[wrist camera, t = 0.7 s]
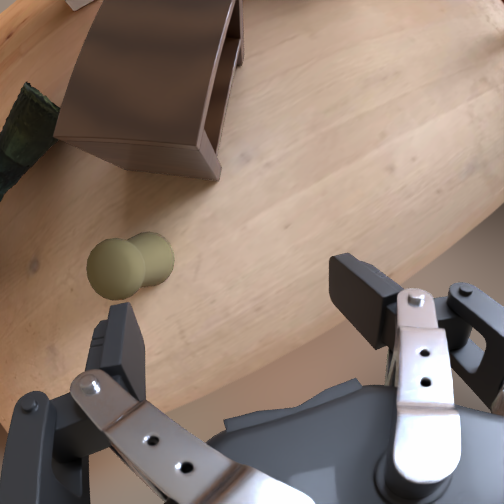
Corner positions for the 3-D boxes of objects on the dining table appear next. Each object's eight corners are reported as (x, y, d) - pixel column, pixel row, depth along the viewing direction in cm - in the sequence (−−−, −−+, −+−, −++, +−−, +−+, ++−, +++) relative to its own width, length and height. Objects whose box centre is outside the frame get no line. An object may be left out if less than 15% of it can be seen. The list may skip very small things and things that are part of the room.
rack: (157, 49, 32) (117, -26, 17) (244, 55, 33) (241, -30, 17) (125, 170, 33) (52, 137, 18) (219, 181, 34) (196, 146, 19)
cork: (144, 220, 34) (100, 217, 23) (185, 255, 34) (156, 267, 23) (114, 262, 34) (64, 276, 23) (153, 296, 35) (115, 324, 24)
